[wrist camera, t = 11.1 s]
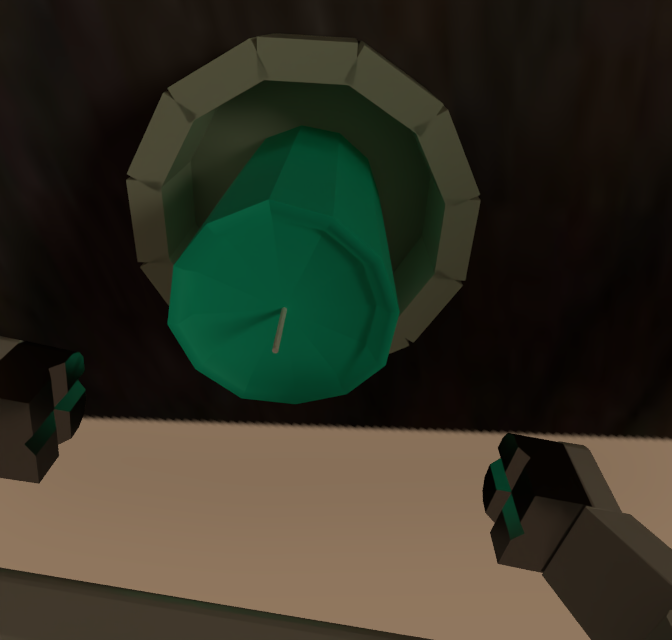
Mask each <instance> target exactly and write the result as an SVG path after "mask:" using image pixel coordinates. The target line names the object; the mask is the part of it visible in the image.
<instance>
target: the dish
mask: <svg viewBox="0 0 672 640" xmlns="http://www.w3.org/2000/svg"><path fill="white" fill-rule="evenodd" d="M168 90H169V91H167V92H164V93H163V94H162V96H161V99H160V101H159V103H158V105H157V108H156V110H155V112H154V114H153V116H152V119H151V121H150V123H149V125H148V128H147V130H146V132H145V134H144V137H143V139H142V141H141V143H140V145H139V148H138V150H137V152H136V154H135V157H134V159H133V161H132V163H131V165H130V168H129V170H128V172H127V174H128V175H129V176H131V177H129V178H128V179H126V184H127V191H128V198H129V205H130V212H131V218H132V225H133V232H134V239H135V246H136V253H137V260H138V262H144V263H143V264H142V265H141V266H140V268H141V269H142V271H143V272H144V273H145V275H146V276H147V277H148V279H149V280H150V281H151V283H152V284H153V285H154V287H155V288H156V289H157V291H158V292H159V293H160V295H161V296H162V297H163V299H164V300H165V301H166V303H167V304H168V305H169V304H170V294H171V284H172V274H173V265H174V264H175V263H176V261H177V260H178V258H179V257H180V256H181V254H182V253H183V251H184V250H185V249H186V247H187V246H188V244H189V243H190V242H191V240H192V239H193V237H194V236H195V235H196V233H197V232H198V230H199V229H200V228H201V226H202V225H203V223H204V222H205V221H206V219H207V218H208V216H209V215H210V214H211V212H212V211H213V209H214V208H215V207H216V205H217V204H218V202H219V201H220V200H221V198H222V197H223V195H224V194H225V193H226V191H227V190H228V188H229V187H230V186H231V184H232V183H233V181H234V180H235V179H236V177H237V176H238V174H239V173H240V172H241V170H242V169H243V167H244V166H245V165H246V163H247V162H248V161H249V160H250V158H251V157H252V156H253V154H254V153H255V152H256V150H257V149H258V148H259V147H260V145H261V144H262V143H263V141H264V140H265V139H266V138H268V137H271V136H273V135H276V134H279V133H282V132H284V131H287V130H290V129H293V128H295V127H298V126H301V125H303V126H308V127H313V128H318V129H322V130H327V131H332V132H337V133H340V134H341V135H342V136H343V137H345V138H346V139H347V140H348V141H349V142H350V143H351V144H352V145H353V146H354V147H355V148H357V149H358V150H359V151H360V152H361V153H362V154H363V155H364V156H365V157H366V158H368V161H369V164H370V167H371V170H372V174H373V177H374V180H375V183H376V187H377V190H378V193H379V198H380V204H381V209H382V215H383V220H384V226H385V232H386V237H387V243H388V249H389V254H390V260H391V266H392V271H393V277H394V283H395V288H396V294H397V300H398V305H399V311H400V313H399V317H398V321H397V324H396V328H395V332H394V336H393V339H392V343H391V347H390V351H389V354H390V353H393V352H395V351H398V350H400V349H402V348H405V347H407V346H409V342H408V340H410V341H411V342H413V343H414V342H415V340H416V339H417V338H418V337H419V336H420V335H421V333H422V332H423V331H424V330H425V329H426V328H427V326H428V325H429V324H430V323H431V322H432V321H433V320H434V318H435V317H436V316H437V315H438V314H439V313H440V311H441V310H442V309H443V308H444V307H445V306H446V304H447V303H448V302H449V301H450V300H451V299H452V297H453V296H454V295H455V294H456V293H457V292H458V290H459V289H460V288H461V287H462V286H463V285H462V282H461V280H463V281H465V279H466V274H467V269H468V264H469V258H470V253H471V248H472V243H473V238H474V233H475V227H476V222H477V217H478V212H479V207H480V201H481V200H480V199H479V198H478V195H480V193H479V190H478V188H477V185H476V182H475V180H474V177H473V174H472V172H471V169H470V166H469V164H468V161H467V159H466V156H465V153H464V151H463V148H462V145H461V143H460V140H459V137H458V135H457V132H456V130H455V127H454V124H453V122H452V119H451V116H450V114H449V111H448V109H446V108H445V107H444V106H443V105H444V104H443V103H442V102H441V101H439V100H438V99H437V98H436V97H435V96H434V95H433V94H431V93H430V92H429V91H428V90H427V89H426V88H424V87H423V86H422V85H420V84H419V83H418V82H416V81H415V80H414V79H412V78H411V77H410V76H408V75H407V74H406V73H404V72H403V71H402V70H400V69H399V68H398V67H396V66H395V65H394V64H392V63H391V62H390V61H388V60H387V59H386V58H384V57H383V56H382V55H380V54H379V53H378V52H376V51H375V50H374V49H372V48H371V47H370V46H368V45H367V44H366V43H364V42H363V41H362V40H361V41H360V43H359V45H358V42H357V39H356V38H344V37H328V36H311V35H295V34H279V33H274V34H269V35H263V36H257V37H254V38H250V39H248V40H246V41H245V42H243V43H241V44H240V45H238V46H236V47H235V48H233V49H231V50H230V51H228V52H226V53H225V54H223V55H221V56H220V57H218V58H216V59H215V60H213V61H211V62H210V63H208V64H206V65H205V66H203V67H201V68H200V69H198V70H196V71H195V72H193V73H191V74H190V75H188V76H186V77H185V78H183V79H181V80H180V81H178V82H176V83H175V84H173V85H171V86H170V87H168Z"/></svg>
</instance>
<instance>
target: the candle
mask: <svg viewBox="0 0 672 640" xmlns="http://www.w3.org/2000/svg"><path fill="white" fill-rule="evenodd" d="M399 313H400V311H399V305H398V300H397V294H396V288H395V283H394V277H393V271H392V266H391V260H390V254H389V249H388V243H387V237H386V232H385V226H384V220H383V215H382V209H381V204H380V198H379V193H378V190H377V187H376V183H375V180H374V177H373V174H372V170H371V167H370V164H369V161H368V158H366V157H365V156H364V155H363V154H362V153H361V152H360V151H359V150H358V149H357V148H355V147H354V146H353V145H352V144H351V143H350V142H349V141H348V140H347V139H346V138H345V137H343V136H342V135H341V134H340V133H337V132H332V131H327V130H322V129H318V128H313V127H308V126H303V125H301V126H298V127H295V128H293V129H290V130H287V131H284V132H282V133H279V134H276V135H273V136H271V137H268V138H266V139H265V140H264V141H263V143H262V144H261V145H260V147H259V148H258V149H257V150H256V152H255V153H254V154H253V156H252V157H251V158H250V160H249V161H248V162H247V163H246V165H245V166H244V167H243V169H242V170H241V172H240V173H239V174H238V176H237V177H236V179H235V180H234V181H233V183H232V184H231V186H230V187H229V188H228V190H227V191H226V193H225V194H224V195H223V197H222V198H221V200H220V201H219V202H218V204H217V205H216V207H215V208H214V209H213V211H212V212H211V214H210V215H209V216H208V218H207V219H206V221H205V222H204V223H203V225H202V226H201V228H200V229H199V230H198V232H197V233H196V235H195V236H194V237H193V239H192V240H191V242H190V243H189V244H188V246H187V247H186V249H185V250H184V251H183V253H182V254H181V256H180V257H179V258H178V260H177V261H176V263H175V264H174V265H173V274H172V284H171V294H170V304H169V314H168V324H167V325H168V326H169V328H170V329H171V331H172V333H173V334H174V336H175V337H176V339H177V341H178V342H179V344H180V345H181V347H182V349H183V350H184V352H185V353H186V355H187V357H188V358H189V360H190V361H191V363H192V365H193V366H194V368H195V369H196V370H198V371H199V372H201V373H202V374H204V375H205V376H207V377H209V378H210V379H212V380H213V381H215V382H217V383H218V384H220V385H221V386H223V387H224V388H226V389H228V390H229V391H231V392H232V393H234V394H235V395H237V396H239V397H240V398H243V399H252V400H262V401H271V402H280V403H289V404H300V403H305V402H310V401H315V400H320V399H325V398H330V397H335V396H340V395H345V394H348V393H349V392H350V391H352V390H353V389H355V388H356V387H357V386H359V385H360V384H361V383H363V382H364V381H365V380H367V379H368V378H369V377H371V376H372V375H373V374H375V373H376V372H377V371H379V370H380V369H381V368H383V367H384V366H385V365H386V362H387V358H388V355H389V351H390V347H391V343H392V339H393V336H394V332H395V328H396V324H397V321H398V317H399Z"/></svg>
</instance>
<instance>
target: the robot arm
mask: <svg viewBox="0 0 672 640" xmlns="http://www.w3.org/2000/svg"><path fill="white" fill-rule="evenodd" d="M84 371H85V369H84V359H83V356H82V355H81V354H80V353H79V352H76V351H71V350H66V349H61V348H57V347H52V346H47V345H42V344H38V343H33V342H28V341H22V340H17V339H12V338H7V337H2V336H0V478H6V479H12V480H19V481H26V482H34V483H40V481H41V480H42V479H43V477H44V476H45V475H46V473H47V472H48V470H49V469H50V467H51V466H52V465H53V463H54V462H55V461H56V459H57V458H58V456H59V452H58V444H61V443H63V442H65V441H67V440H69V439H71V438H72V436H73V435H74V433H75V432H76V430H77V429H78V428H79V425H80V423H81V420H82V418H83V415H84V412H85V406H86V389H85V388H84V387H83V386H82V384H81V383H80V382H79V381H78V379H79V378H80V376H81V375H82V374H83V372H84ZM498 450H499V453H500V456H501V458H500V459H498V460H497V461H495V462H493V463H492V464H490V466H489V468H488V470H487V473H486V475H485V479H484V485H483V503H484V508H485V513H486V514H487V515H488V516H489V517H490V518H491V519H492V520H493V521H494V522H495V524H494V526H493V528H492V530H491V532H490V534H491V538H492V542H493V546H494V550H495V554H496V558H497V563H498V564H502V565H507V566H512V567H517V568H521V569H526V570H531V571H536V572H541V573H543V574H542V576H543V577H544V578H545V579H546V581H547V582H548V584H549V585H550V586H551V587H552V589H553V590H554V591H555V593H556V594H557V595H558V597H559V598H560V599H561V601H562V602H563V603H564V605H565V606H566V607H567V608H568V610H569V611H570V612H571V614H572V615H573V616H574V618H575V619H576V620H577V622H578V623H579V624H580V626H581V627H582V628H583V630H584V631H585V632H586V634H587V635H588V636H589V637H590V639H591V640H672V549H671V548H669V547H668V546H667V545H666V544H665V543H664V542H662V541H661V540H660V539H659V538H658V537H656V536H655V535H654V534H653V533H652V532H650V531H649V530H648V529H647V528H646V527H644V526H643V525H642V524H641V523H640V522H639V521H637V520H636V519H635V518H634V517H633V516H632V515H630V514H626V513H622V512H621V510H620V508H619V506H618V504H617V502H616V500H615V498H614V496H613V494H612V492H611V490H610V489H609V486H608V485H607V483H606V481H605V479H604V477H603V475H602V473H601V471H600V469H599V467H598V465H597V463H596V462H595V459H594V457H593V455H592V454H591V452H590V450H589V449H588V448H587V447H585V446H584V445H577V444H572V443H565V442H555V441H549V440H544V439H538V438H533V437H527V436H522V435H516V434H511V433H507V434H506V435H505V436H504V437H503V438H502V441H501V443H500V445H499V447H498ZM0 640H431V639H426V638H420V637H413V636H407V635H400V634H395V633H389V632H383V631H377V630H371V629H365V628H359V627H353V626H347V625H341V624H335V623H329V622H323V621H317V620H311V619H305V618H299V617H293V616H287V615H281V614H275V613H269V612H263V611H257V610H251V609H245V608H239V607H233V606H227V605H221V604H215V603H209V602H203V601H197V600H191V599H185V598H179V597H173V596H167V595H161V594H155V593H149V592H144V591H137V590H132V589H126V588H119V587H113V586H108V585H101V584H96V583H89V582H83V581H78V580H71V579H66V578H59V577H53V576H47V575H41V574H35V573H29V572H23V571H17V570H11V569H5V568H0Z"/></svg>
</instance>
